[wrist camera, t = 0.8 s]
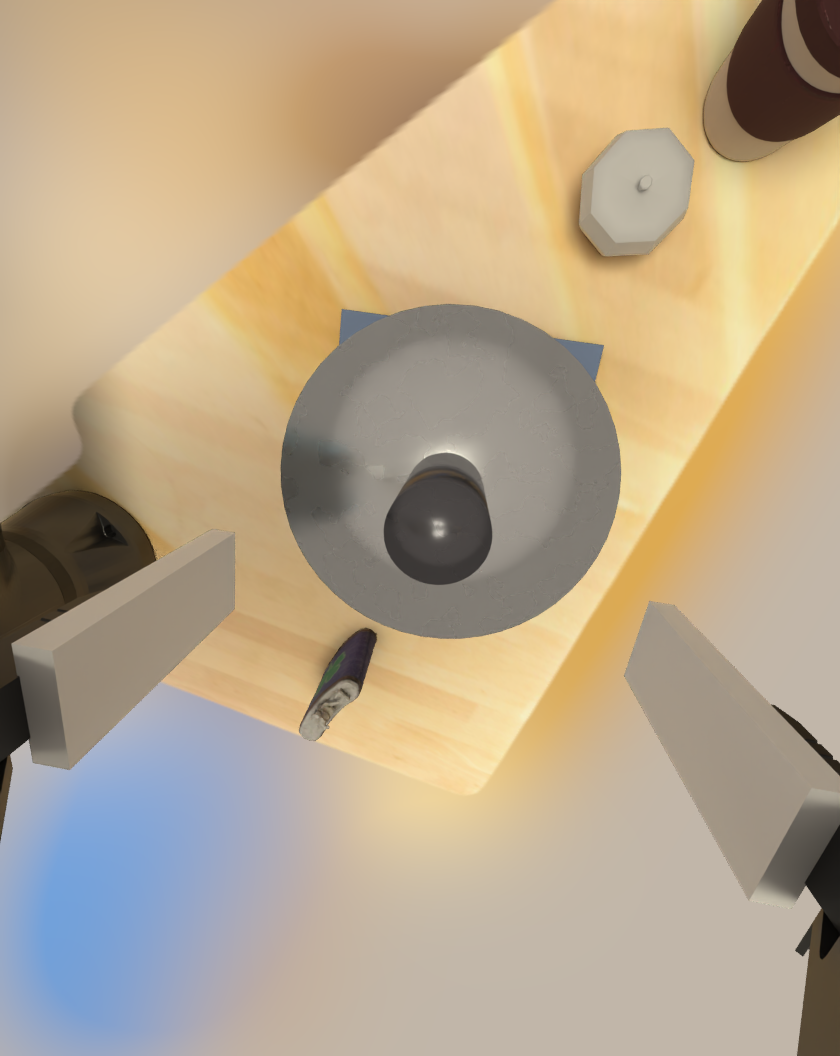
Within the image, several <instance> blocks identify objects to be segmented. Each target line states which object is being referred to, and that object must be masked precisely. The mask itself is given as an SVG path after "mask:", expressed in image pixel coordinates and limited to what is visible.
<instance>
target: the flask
mask: <svg viewBox="0 0 840 1056" xmlns="http://www.w3.org/2000/svg"><path fill="white" fill-rule="evenodd" d="M376 634H377V633H374V632H373V631H372V630H371V629H367V628H364V629H360V631H357V632H356V633H355V634H353V635H352V636H351V637H350V638H348V640H347V641H345V643H343V645H342V646H341V647H340V648H339V649H338V652H337V653H336V654H335V656H334V657H333V658H332V660H331V662H330V663H329V665H328V667H327V668H326V670H325V672H324V674H323V677H322V680H321V682H320V684H319V686H318V688H317V691H316V693H315V695H314V697H313V699H312V701H311V703H310V705H309V708H308V710H307V711H306V713H305V716H304V718H303V720H302V722H301V724H300V728H299V732H300V734H301V735H302V737H303V738H304V739H307V740H309V741H316V740H317V739H319V738H320V737H321V736H322V734H323V733H324V731H325V730H326V729H329V726H327V725H328V724H329V722H330V721H331V720H332V719H333V718H334V716H335V715H336V714H337V713H338V712H339V711H340V710H341V709H342V708H343V707H344V706H346V705H347V704H349V703H350V702H352V701H354V700H355V699H356V698H357V697H358V696H359V694H360V692H361V689H362V685H363V681H364V679H365V676H366V673H367V668H368V665H369V663H370V659H371V655H372V652H373V649H374V646H375V643H376V641H377V637H376Z"/></svg>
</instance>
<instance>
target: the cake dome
mask: <svg viewBox="0 0 840 1056" xmlns="http://www.w3.org/2000/svg"><path fill="white" fill-rule="evenodd" d="M620 481H621V463H620V449H619V444H618V439H617V434H616V429H615V426H614V423H613V420H612V417H611V414H610V412H609V409H608V406H607V404H606V402H605V400H604V398H603V396H602V394H601V392H600V391H599V389H598V387H597V385H596V383H595V382H594V380H593V379H592V378H591V376H590V375H589V374H588V372H587V371H586V370H585V368H584V367H583V365H582V364H581V363H580V362H579V361H578V360H577V359H576V358H575V357H574V356H573V355H572V354H571V353H570V352H569V351H568V350H567V349H566V348H565V347H564V346H563V345H561V344H560V343H559V342H558V341H556V340H555V339H554V338H552V337H551V336H550V335H548V334H547V333H546V332H544V331H542V330H541V329H539V328H537V327H535V326H533V325H531V324H530V323H528V322H526V321H524V320H522V319H519V318H517V317H514V316H511V315H509V314H506V313H503V312H501V311H497V310H492V309H488V308H483V307H478V306H471V305H455V304H445V305H432V306H423V307H419V308H414V309H410V310H405V311H401V312H398V313H396V314H393V315H390V316H388V317H385V318H383V319H380V320H377V321H376V322H374V323H372V324H370V325H368V326H367V327H365V328H363V329H361V330H360V331H358V332H356V333H355V334H353V335H352V336H351V337H350V338H348V339H347V340H346V341H344V342H343V343H342V344H340V345H339V346H338V347H337V348H336V349H335V350H334V351H333V352H332V353H331V354H330V355H329V356H328V357H327V358H326V359H325V360H324V361H323V362H322V363H321V364H320V365H319V367H318V368H317V369H316V371H315V372H314V373H313V375H312V376H311V377H310V379H309V380H308V381H307V383H306V385H305V387H304V388H303V390H302V392H301V394H300V396H299V397H298V399H297V401H296V403H295V406H294V408H293V411H292V414H291V416H290V419H289V421H288V425H287V429H286V433H285V437H284V442H283V448H282V458H281V488H282V494H283V501H284V507H285V511H286V514H287V517H288V521H289V524H290V528H291V530H292V532H293V535H294V537H295V539H296V542H297V544H298V546H299V548H300V550H301V551H302V553H303V555H304V556H305V558H306V560H307V562H308V563H309V565H310V566H311V567H312V569H313V570H314V571H315V573H316V574H317V575H318V576H319V578H320V579H321V580H322V581H323V582H324V583H325V584H326V585H327V586H328V587H329V588H330V590H331V591H332V592H333V593H334V594H336V595H337V596H338V597H339V598H340V599H342V600H343V601H344V602H345V603H347V604H348V605H349V606H350V607H352V608H353V609H355V610H357V611H358V612H360V613H361V614H363V615H364V616H366V617H368V618H370V619H372V620H374V621H376V622H378V623H380V624H382V625H384V626H387V627H390V628H393V629H396V630H398V631H401V632H405V633H409V634H414V635H418V636H423V637H432V638H441V639H461V638H470V637H478V636H484V635H488V634H492V633H496V632H501V631H503V630H506V629H509V628H512V627H514V626H517V625H520V624H522V623H524V622H526V621H528V620H530V619H532V618H534V617H536V616H538V615H539V614H541V613H542V612H544V611H545V610H547V609H548V608H550V607H551V606H553V605H554V604H555V603H557V602H558V601H559V600H560V599H561V598H562V597H564V596H565V595H566V594H567V593H568V592H569V591H570V590H571V589H572V588H573V587H574V586H575V585H576V584H577V583H578V582H579V581H580V580H581V578H582V577H583V576H584V575H585V574H586V572H587V571H588V569H589V568H590V567H591V565H592V564H593V562H594V561H595V559H596V558H597V556H598V554H599V553H600V551H601V549H602V547H603V545H604V543H605V541H606V539H607V537H608V534H609V531H610V529H611V526H612V523H613V520H614V518H615V513H616V509H617V504H618V499H619V494H620Z"/></svg>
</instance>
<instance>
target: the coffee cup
mask: <svg viewBox="0 0 840 1056" xmlns="http://www.w3.org/2000/svg"><path fill="white" fill-rule="evenodd" d="M838 115H840V0H762V1H761V3H760V4H759V6H758V7H757V9H756V10H755V12H754V13H753V15H752V16H751V18H750V19H749V21H748V22H747V24H746V25H745V27H744V28H743V30H742V32H741V34H740V36H739V38H738V40H737V42H736V44H735V46H734V48H733V50H732V51H731V52H730V54H729V55H728V57H727V58H726V60H725V61H724V63H723V64H722V65H721V67H720V68H719V70H718V71H717V73H716V75H715V77H714V79H713V81H712V83H711V85H710V87H709V90H708V93H707V96H706V100H705V105H704V127H705V132H706V135H707V137H708V139H709V141H710V143H711V145H712V146H713V148H714V149H715V150H716V151H717V152H718V153H719V154H721V155H723V156H724V157H726V158H728V159H731V160H734V161H752V160H756V159H759V158H762V157H765V156H767V155H769V154H771V153H773V152H774V151H776V150H778V149H779V148H781V147H782V146H784V145H785V144H787V143H789V142H790V141H792V140H794V139H796V138H799V137H802V136H804V135H806V134H808V133H810V132H812V131H814V130H816V129H817V128H819V127H820V126H822V125H824V124H825V123H827V122H829V121H830V120H832V119H833V118H835V117H837V116H838Z"/></svg>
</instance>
